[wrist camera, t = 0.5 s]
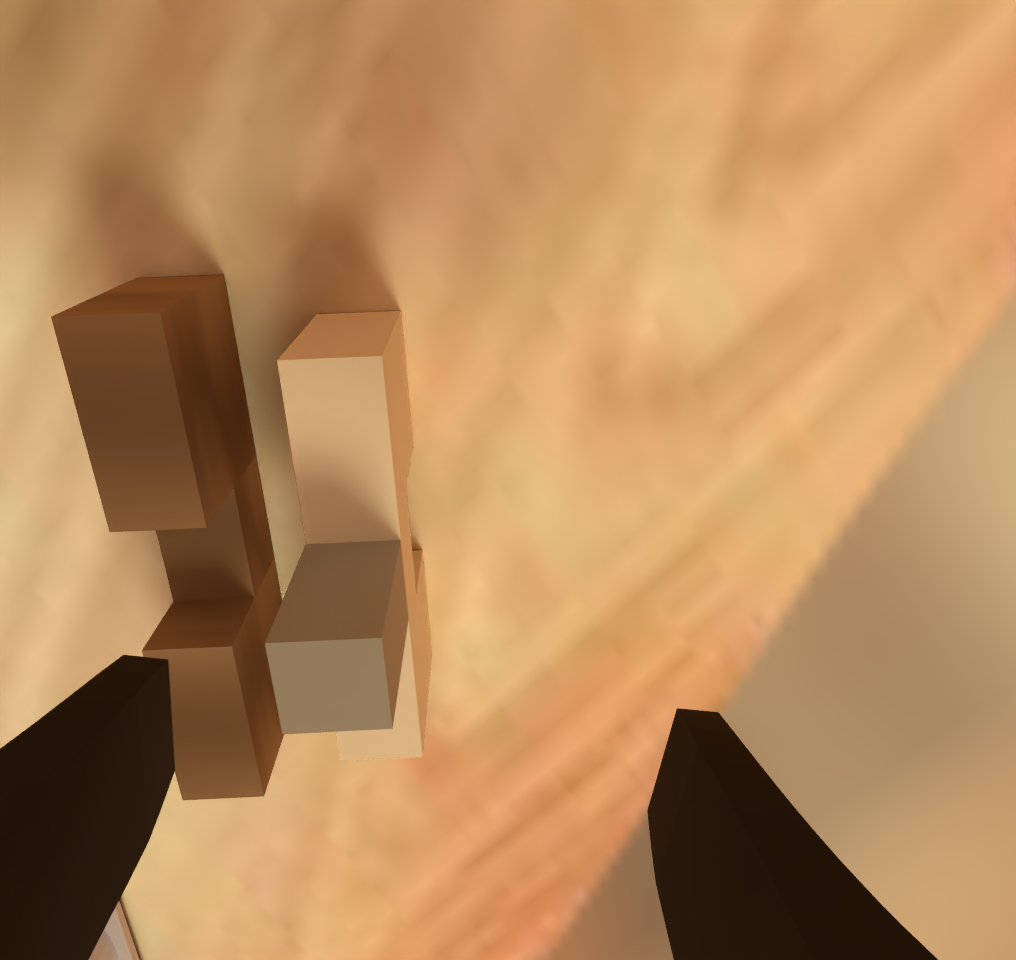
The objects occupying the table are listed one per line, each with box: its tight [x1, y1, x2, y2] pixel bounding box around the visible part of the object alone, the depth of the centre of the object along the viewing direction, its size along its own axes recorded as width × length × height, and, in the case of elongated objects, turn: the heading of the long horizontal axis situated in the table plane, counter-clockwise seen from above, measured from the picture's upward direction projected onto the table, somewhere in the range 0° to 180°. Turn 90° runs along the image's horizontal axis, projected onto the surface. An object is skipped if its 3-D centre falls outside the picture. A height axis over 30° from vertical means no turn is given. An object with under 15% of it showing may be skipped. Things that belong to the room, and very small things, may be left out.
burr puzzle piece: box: [265, 311, 432, 761], centre depth 17 cm, size 10×2×8 cm, turn 2°
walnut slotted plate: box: [51, 275, 284, 800], centre depth 19 cm, size 12×2×4 cm, turn 2°
